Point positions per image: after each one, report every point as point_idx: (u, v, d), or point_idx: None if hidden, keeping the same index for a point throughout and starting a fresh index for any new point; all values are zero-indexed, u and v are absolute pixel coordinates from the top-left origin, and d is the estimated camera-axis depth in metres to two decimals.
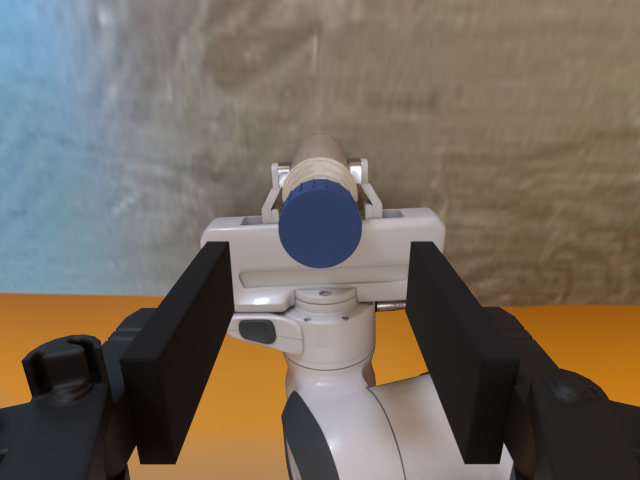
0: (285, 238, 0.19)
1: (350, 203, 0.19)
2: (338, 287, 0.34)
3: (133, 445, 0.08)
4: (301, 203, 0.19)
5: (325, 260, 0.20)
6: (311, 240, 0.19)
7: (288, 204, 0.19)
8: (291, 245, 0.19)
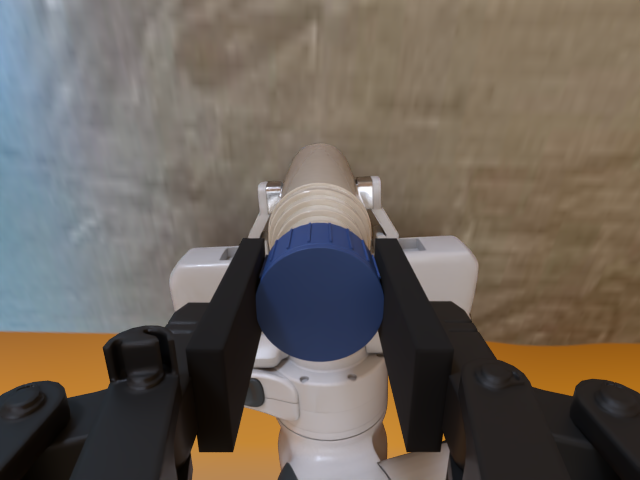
0: (265, 319, 0.12)
1: (367, 268, 0.12)
2: None
3: (195, 434, 0.09)
4: (290, 268, 0.12)
5: (327, 351, 0.13)
6: (306, 322, 0.12)
7: (269, 269, 0.12)
8: (275, 329, 0.13)
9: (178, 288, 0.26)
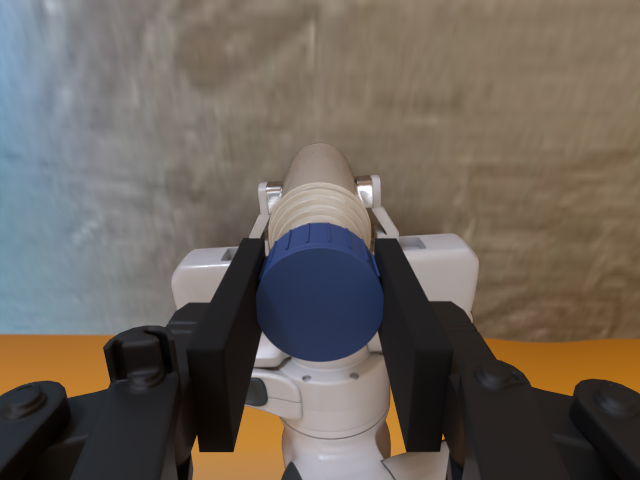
0: (366, 333, 0.13)
1: (256, 305, 0.12)
2: None
3: (196, 434, 0.09)
4: (309, 350, 0.13)
5: (351, 270, 0.12)
6: (341, 306, 0.12)
7: (323, 360, 0.13)
8: (368, 320, 0.12)
9: (180, 289, 0.26)
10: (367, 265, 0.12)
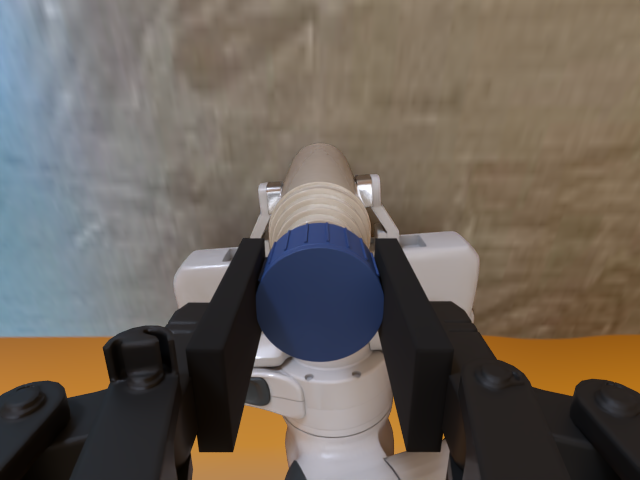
0: (307, 257, 0.12)
1: (359, 348, 0.13)
2: None
3: (195, 434, 0.09)
4: (364, 283, 0.12)
5: (269, 314, 0.12)
6: (303, 295, 0.12)
7: (364, 264, 0.12)
8: (295, 265, 0.12)
9: (182, 290, 0.26)
10: None
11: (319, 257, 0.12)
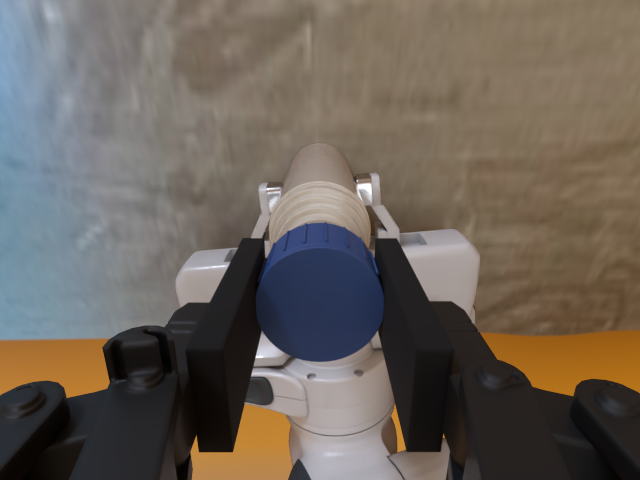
0: (289, 347, 0.13)
1: (325, 249, 0.12)
2: None
3: (195, 433, 0.09)
4: (269, 296, 0.12)
5: (358, 336, 0.13)
6: (320, 326, 0.13)
7: (256, 308, 0.12)
8: (303, 349, 0.13)
9: (184, 291, 0.27)
10: (361, 346, 0.13)
11: (281, 340, 0.13)
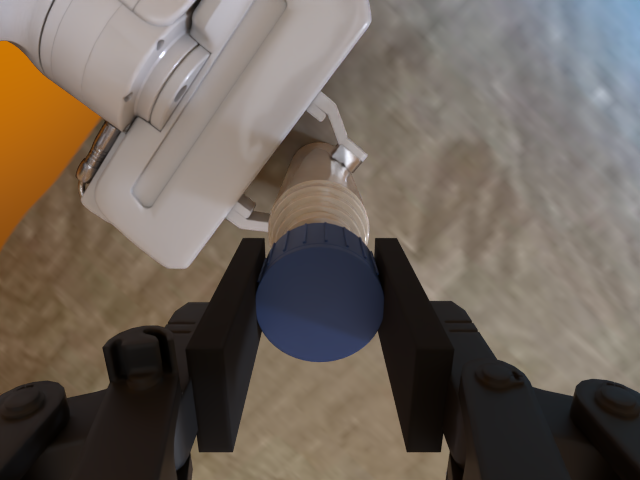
0: (289, 347, 0.13)
1: (325, 249, 0.12)
2: (175, 110, 0.23)
3: (195, 433, 0.09)
4: (269, 296, 0.12)
5: (358, 335, 0.13)
6: (320, 326, 0.13)
7: (256, 308, 0.12)
8: (303, 349, 0.13)
9: None
10: (361, 346, 0.13)
11: (281, 340, 0.13)
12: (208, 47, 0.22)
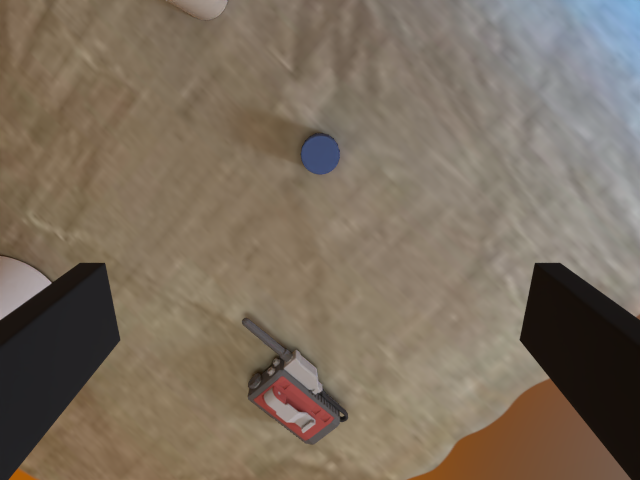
0: (311, 168, 0.42)
1: (321, 136, 0.41)
2: None
3: None
4: (305, 151, 0.42)
5: (332, 164, 0.42)
6: (320, 161, 0.42)
7: (301, 155, 0.42)
8: (315, 169, 0.42)
9: None
10: (332, 169, 0.42)
11: (308, 166, 0.42)
12: None
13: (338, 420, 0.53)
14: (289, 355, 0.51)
